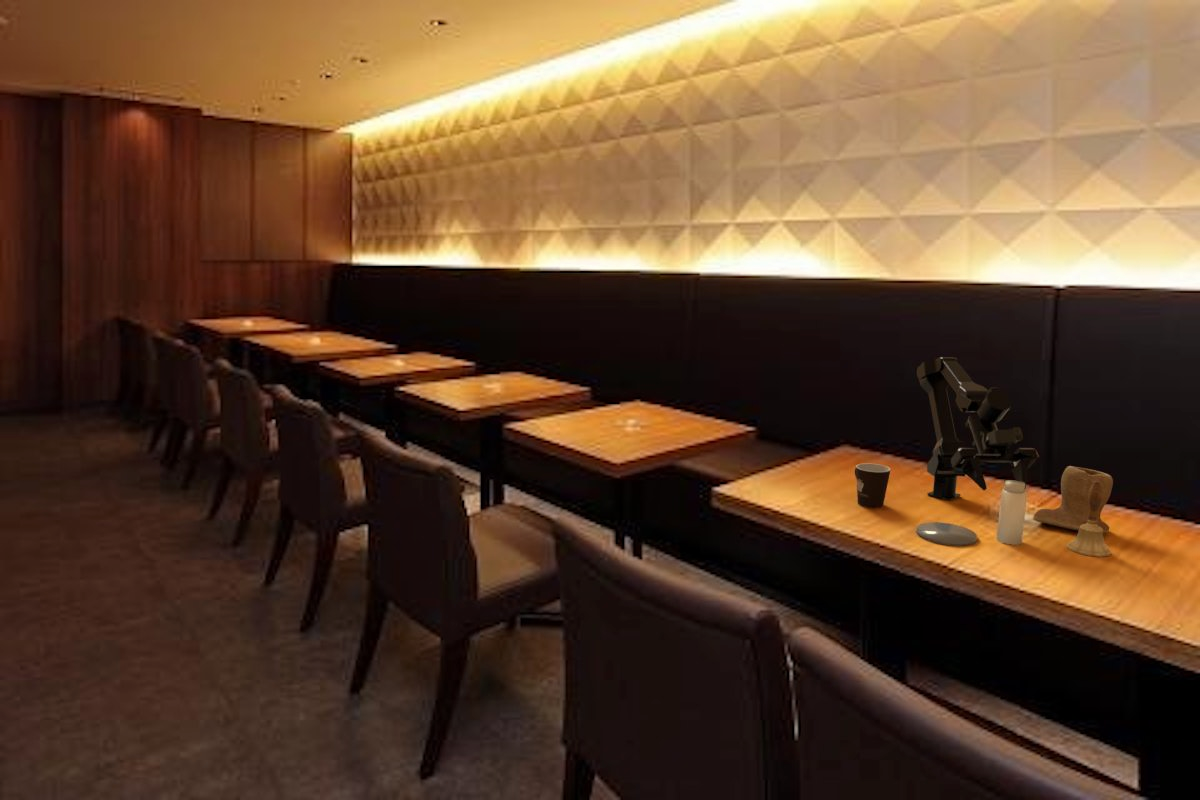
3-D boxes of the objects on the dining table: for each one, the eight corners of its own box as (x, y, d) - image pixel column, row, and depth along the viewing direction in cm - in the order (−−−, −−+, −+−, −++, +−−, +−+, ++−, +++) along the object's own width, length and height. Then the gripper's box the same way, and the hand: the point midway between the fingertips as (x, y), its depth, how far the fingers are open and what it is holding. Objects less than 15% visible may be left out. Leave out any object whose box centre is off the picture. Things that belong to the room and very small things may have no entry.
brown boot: (1113, 528, 191) (1121, 468, 188) (1104, 541, 182) (1112, 478, 179) (1043, 514, 201) (1050, 457, 198) (1031, 526, 192) (1038, 466, 189)
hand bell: (1059, 543, 180) (1067, 476, 177) (1093, 543, 181) (1102, 476, 178) (1083, 557, 172) (1092, 487, 169) (1119, 556, 173) (1129, 486, 170)
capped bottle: (1002, 535, 185) (1008, 478, 183) (1025, 541, 181) (1032, 483, 179) (992, 540, 182) (998, 482, 179) (1016, 546, 178) (1022, 487, 175)
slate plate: (932, 522, 194) (932, 518, 193) (986, 537, 184) (986, 532, 184) (905, 534, 185) (906, 530, 185) (960, 550, 176) (961, 545, 175)
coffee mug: (890, 510, 203) (893, 473, 201) (855, 508, 204) (857, 471, 202) (883, 497, 214) (886, 461, 212) (850, 495, 215) (852, 459, 214)
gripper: (960, 414, 186) (979, 472, 177) (1038, 415, 186) (1061, 472, 177) (943, 439, 195) (959, 495, 186) (1017, 440, 195) (1037, 496, 186)
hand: (1004, 489), depth 184 cm, fingers open, 9 cm apart
